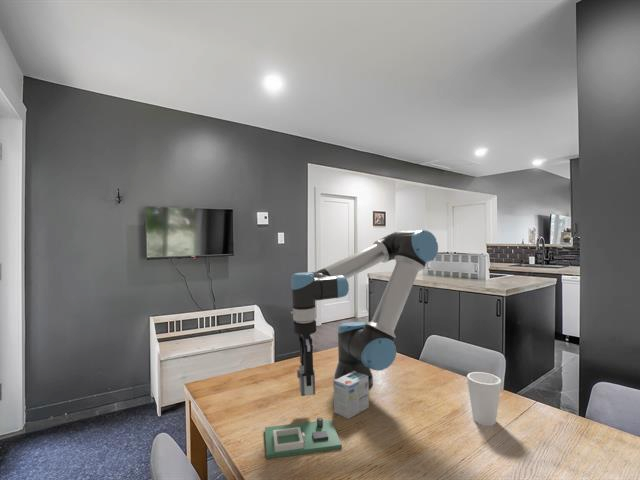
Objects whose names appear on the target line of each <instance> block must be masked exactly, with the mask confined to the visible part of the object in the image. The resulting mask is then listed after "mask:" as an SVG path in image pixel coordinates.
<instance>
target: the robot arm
mask: <svg viewBox="0 0 640 480" xmlns="http://www.w3.org/2000/svg"><path fill="white" fill-rule="evenodd" d="M438 252H439V243H438V242H437V238H436V236H435V235H434V234H433V233H432V232H431V231H428V230H425V229H413V230H412V229H411V230H398V231H395V232H392V233H390V234H388V235H386V236H384V237H382V238H380V239H378V240H375V241H374V242H373V244H372V245H370V246H368V247H366V248H364V249H362V250H360V251H357V252H355V253H353V254H351V255H349V256H347V257H345V258H343V259H340V260H339V261H337V262H334V263H332V264H330V265H328V266H326V267H323V268H321V269H319V270H317V271H311V272H310V271H307V272H304V271H303V272H296V273H293V274H292V276H291V282H290V283H291V284H290V285H291V287H290V288H291V289H290V290H291V300H292V310H291V311H290V314H291V315H292V319H293V322H292V326H293V327H292V328H293V330H292V331H293V333H294V334H295V335H298V343H299V356H300V357H299V358H300V359H299V361H300V362H299V363H300V364H301V365H300V366H304V374H302V376H304V392H305V396H307V397H308V396H313V376H312V375H314V372H315V371H314V372H313V368H314V358H313V357H314V354H313V350H314V349H313V348H314V346H313V338H312V336H311V335H313V334H315V333H316V332H317V321H316V319H317V309H316V308H317V307H316V301H323V300H332V299H339V298H344V297H346V296H347V295H348V294H349V290H350V289H349V288H350V287H349V281H348V279H349V278H352V277H353V276H355V275H358V274H359V273H361V272H364V271H365V270H367V269H369V268H372V267H373V266H376V265H377V264H380V263H385V264H386V263H387V262H390V261H392V260H393V261H394V260H395V265H394V268H393V270H392V272H391V275H390V277H389V280H388V282H387V284H386V287H385V289H384V291H383V294H382V296H381V299H380V301H379V303H378V305H377V307H376V310H375V311H374V314H373V316H372V320H371V321H368V322H363V321H352V322H351V321H350V322H344V323H341V324H339V325H338V329H337V340H338V341H337V342H338V343H337V345H338V347H337V350H338V351H337V352H338V354H337V355H338V361H337V365H336V368H335V372H334V379H333V381H334V380H335V379H338V378H340V377H342V376H344V375H347V374H349V373H351V372H353V371H356V372H358V373H361V374H364V375H367V376H368V384H369V387H371V386H372V385H373V383H374V376H373V373H372V370H373V371H378V372H379V371H383V370H386V369H387V368H390V366H391V365H393V363H394V361H395V360H396V357H397V348H396V344H395V341H396V339H397V338H396V337H397V336H396V334H395V330H396V327H397V325H398V322H399V319H400V317H401V314H402V313H403V310H404V307H405V304H406V302H407V301H408V297H409V295H410V293H411V290H412V288H413V285H414V283H415V280H416V278H417V276H418V273H419V272H421V271H423V270H424V269H425V267H426V265H427V263H429V262H432V261H433V260H435V259H436V257H437V255H438Z"/></svg>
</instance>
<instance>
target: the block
mask: <svg viewBox="0 0 640 480" xmlns="http://www.w3.org/2000/svg"><path fill="white" fill-rule="evenodd" d="M313 372H314V375H312V376H313V395H316V378H315V377H316V374H315V368H314V367H313ZM302 374H304V366H301V365H299V366H298V369H297V370H296V376H297V379H298V382H299V387H298V388H299V392H300V395H301V397H304V396H305V392H304V376H302ZM313 395H312V396H313Z"/></svg>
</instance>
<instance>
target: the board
mask: <svg viewBox="0 0 640 480" xmlns="http://www.w3.org/2000/svg"><path fill="white" fill-rule="evenodd" d="M264 434H265V436H264V437H265V439H264V440H265V450H266V451H265V452H266V459H267V460H269V459H274V458H275V457H276V458H282V457H289V456H296V455H304V454H311V453H317V452H325V451H331V450H332V451H333V450H339V449H340V450H341V449H342V442H341V439H340V437H339V435H338V433H337V430H336V428H335V426H334V424H333V422H332V419H323V417H318V418H316V420H313V421H306V422H297V423H291V424H280V425H274V426H273V425H272V426H265V427H264ZM268 458H269V459H268ZM276 458H275V459H276Z"/></svg>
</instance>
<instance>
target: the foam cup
mask: <svg viewBox="0 0 640 480" xmlns="http://www.w3.org/2000/svg"><path fill="white" fill-rule="evenodd" d="M466 384H467V387H468V395H469V400H470V407H471V413H472V414H471V415H472V419H473V420H474V422H475V423H477V424H480V425H482V426H487V427H491V426H494V425H496V422H497V415H498V408H499V400H500V392H501V391H502V379H501V378H500V377H499V376H497V375H495V374H492V373H488V372H483V371H482V372H481V371H472V372H469V373H467V375H466Z"/></svg>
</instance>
